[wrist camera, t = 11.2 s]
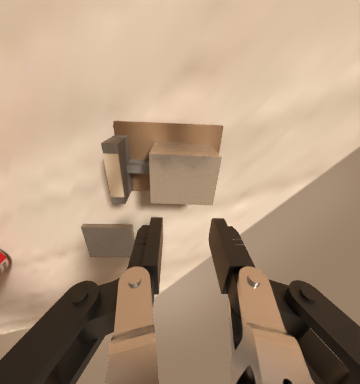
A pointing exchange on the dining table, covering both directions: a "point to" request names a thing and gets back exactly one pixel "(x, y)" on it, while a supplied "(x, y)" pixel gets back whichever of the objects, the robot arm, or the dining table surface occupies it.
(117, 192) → the rack
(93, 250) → the brown flat angled piece
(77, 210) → the dining table surface
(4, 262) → the soda can
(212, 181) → the tan wood block
